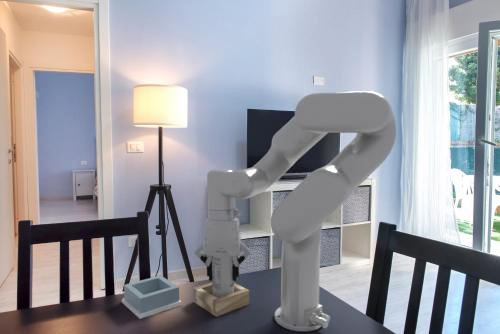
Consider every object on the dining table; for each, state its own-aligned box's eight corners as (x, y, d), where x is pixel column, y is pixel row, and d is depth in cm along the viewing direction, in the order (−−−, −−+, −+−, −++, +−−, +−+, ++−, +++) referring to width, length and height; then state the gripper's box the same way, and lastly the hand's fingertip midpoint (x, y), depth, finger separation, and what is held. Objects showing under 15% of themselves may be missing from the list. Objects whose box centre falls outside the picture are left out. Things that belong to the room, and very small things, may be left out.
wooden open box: (249, 304, 99) (249, 290, 99) (216, 316, 92) (216, 301, 92) (225, 291, 107) (225, 278, 107) (193, 301, 100) (193, 287, 100)
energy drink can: (236, 301, 97) (235, 247, 96) (214, 304, 96) (213, 249, 95) (231, 292, 103) (230, 241, 102) (210, 295, 101) (209, 243, 100)
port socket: (181, 304, 98) (181, 287, 98) (139, 318, 91) (139, 299, 90) (161, 290, 108) (161, 274, 107) (121, 302, 100) (121, 284, 99)
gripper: (254, 211, 101) (255, 274, 102) (193, 211, 102) (195, 273, 103) (252, 217, 93) (253, 285, 94) (187, 217, 95) (189, 283, 96)
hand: (223, 278), depth 99 cm, fingers closed on energy drink can, 6 cm apart
